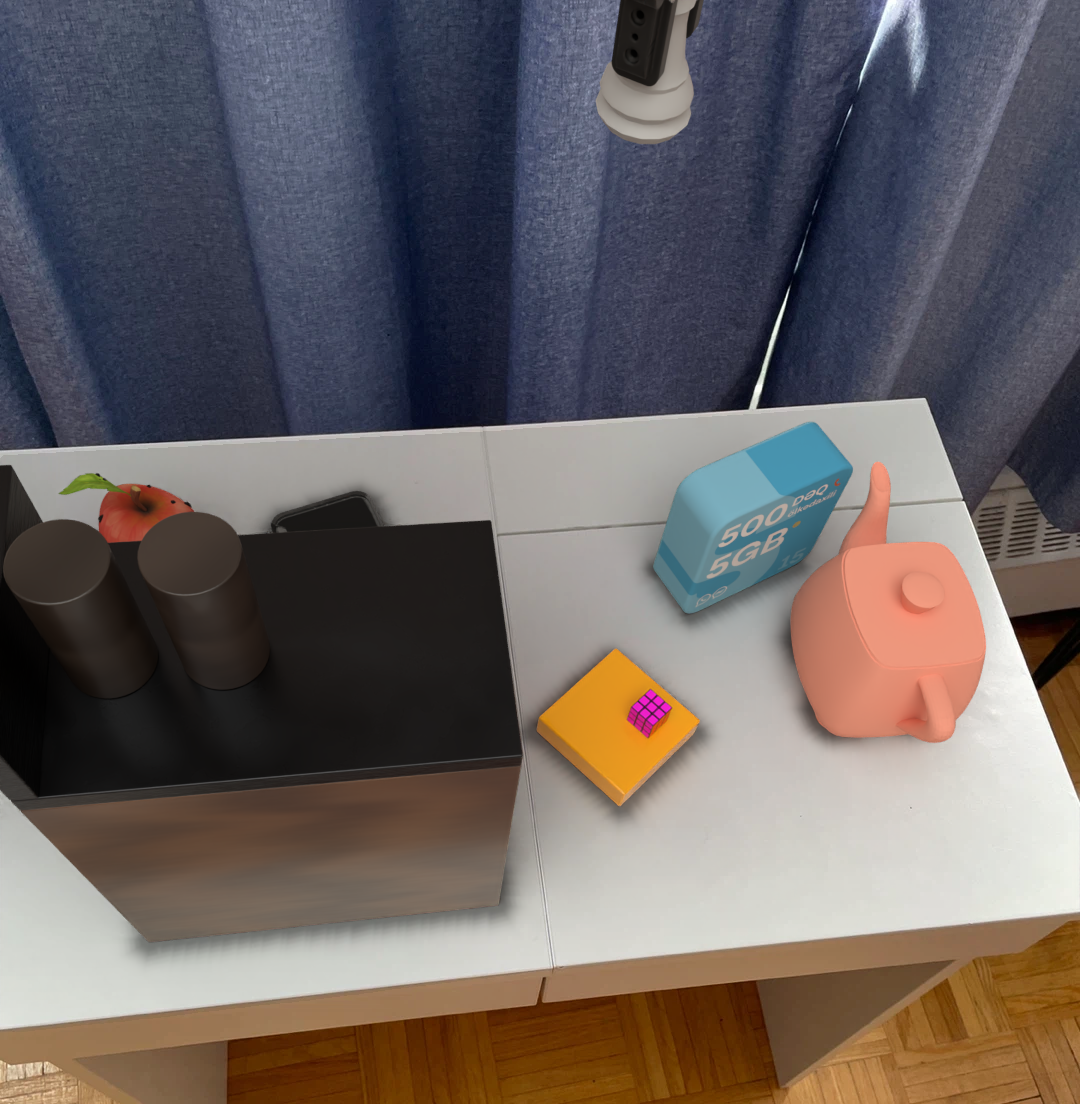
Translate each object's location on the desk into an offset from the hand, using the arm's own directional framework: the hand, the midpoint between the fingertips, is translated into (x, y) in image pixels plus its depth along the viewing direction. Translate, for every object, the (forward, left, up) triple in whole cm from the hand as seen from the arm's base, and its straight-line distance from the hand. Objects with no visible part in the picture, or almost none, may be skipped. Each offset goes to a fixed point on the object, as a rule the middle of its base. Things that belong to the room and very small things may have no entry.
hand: (654, 49), depth 48 cm
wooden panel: (-3, -28, -39) cm, 48 cm away
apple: (-25, -17, -39) cm, 50 cm away
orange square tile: (+10, -11, -39) cm, 42 cm away
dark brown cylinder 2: (-5, -29, -15) cm, 33 cm away
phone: (-12, -11, -39) cm, 42 cm away
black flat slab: (-3, -28, -16) cm, 32 cm away
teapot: (+23, +3, -39) cm, 46 cm away
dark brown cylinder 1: (-9, -32, -15) cm, 36 cm away
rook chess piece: (0, 0, -3) cm, 3 cm away
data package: (+11, +6, -39) cm, 41 cm away
